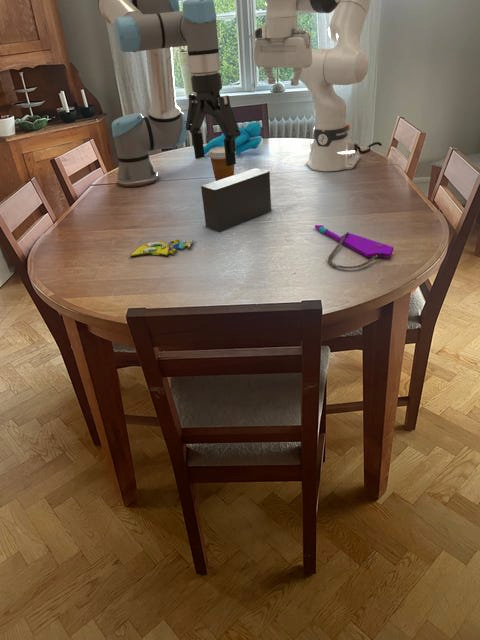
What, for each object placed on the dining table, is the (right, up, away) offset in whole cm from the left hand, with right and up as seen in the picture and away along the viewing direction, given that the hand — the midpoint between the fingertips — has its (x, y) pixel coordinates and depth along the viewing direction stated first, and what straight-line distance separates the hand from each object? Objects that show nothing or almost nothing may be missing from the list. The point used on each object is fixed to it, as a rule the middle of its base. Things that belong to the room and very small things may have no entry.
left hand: (215, 161), depth 130 cm
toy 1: (-14, -24, -1) cm, 28 cm away
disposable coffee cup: (+1, +6, +43) cm, 43 cm away
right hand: (+19, +26, +11) cm, 35 cm away
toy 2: (+2, +29, +79) cm, 84 cm away
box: (+7, -13, +14) cm, 20 cm away
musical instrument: (+32, -26, -10) cm, 42 cm away
